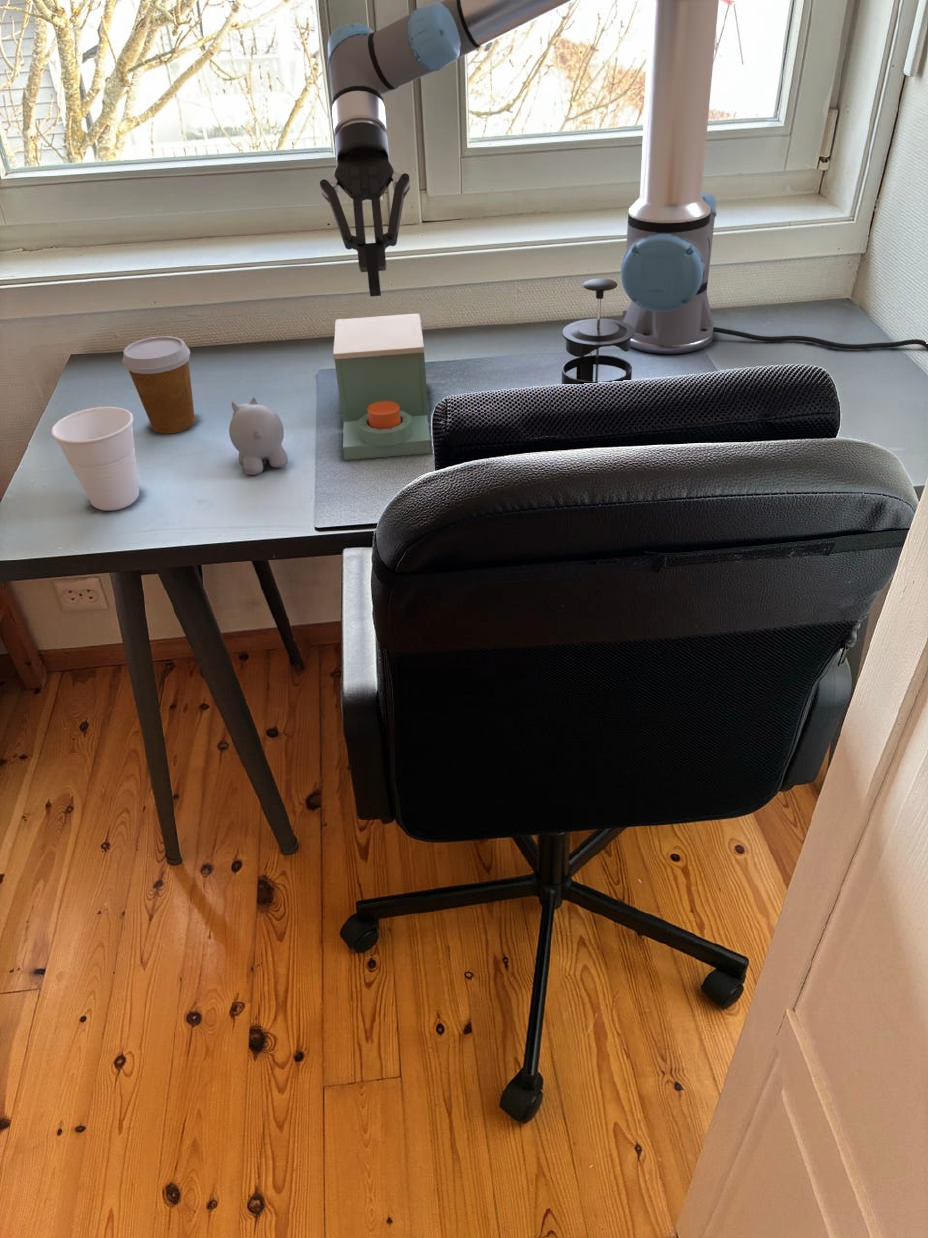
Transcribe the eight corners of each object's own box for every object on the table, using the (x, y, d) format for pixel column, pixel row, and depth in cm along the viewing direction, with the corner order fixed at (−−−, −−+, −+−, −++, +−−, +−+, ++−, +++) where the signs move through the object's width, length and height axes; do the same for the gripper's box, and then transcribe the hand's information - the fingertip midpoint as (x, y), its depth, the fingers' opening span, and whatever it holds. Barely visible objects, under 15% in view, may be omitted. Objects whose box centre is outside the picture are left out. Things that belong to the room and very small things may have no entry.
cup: (61, 507, 123) (33, 430, 116) (121, 475, 129) (98, 400, 123) (110, 527, 118) (85, 448, 112) (170, 492, 125) (149, 416, 118)
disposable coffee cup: (131, 424, 142) (109, 347, 135) (188, 405, 147) (170, 329, 139) (158, 445, 136) (137, 365, 129) (217, 424, 141) (199, 346, 134)
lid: (424, 352, 131) (423, 346, 130) (333, 359, 131) (333, 353, 130) (419, 318, 142) (419, 312, 141) (336, 324, 141) (335, 319, 141)
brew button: (400, 415, 132) (398, 399, 131) (401, 429, 128) (399, 413, 127) (369, 417, 132) (367, 402, 130) (369, 431, 128) (367, 415, 127)
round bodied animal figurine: (274, 434, 137) (264, 379, 132) (295, 469, 128) (284, 411, 123) (225, 445, 135) (213, 389, 130) (243, 481, 126) (230, 423, 121)
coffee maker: (429, 420, 138) (424, 349, 132) (343, 427, 138) (334, 356, 131) (425, 386, 148) (420, 318, 142) (345, 392, 148) (336, 324, 141)
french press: (639, 465, 124) (652, 291, 110) (570, 474, 123) (574, 299, 109) (612, 427, 134) (621, 261, 120) (548, 435, 133) (549, 269, 119)
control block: (428, 427, 136) (426, 401, 134) (431, 455, 130) (429, 428, 127) (345, 434, 136) (342, 408, 134) (344, 462, 129) (340, 435, 127)
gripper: (407, 149, 138) (422, 300, 135) (318, 156, 138) (331, 307, 135) (405, 115, 131) (420, 274, 128) (311, 122, 130) (325, 282, 127)
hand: (375, 291), depth 131 cm, fingers closed
